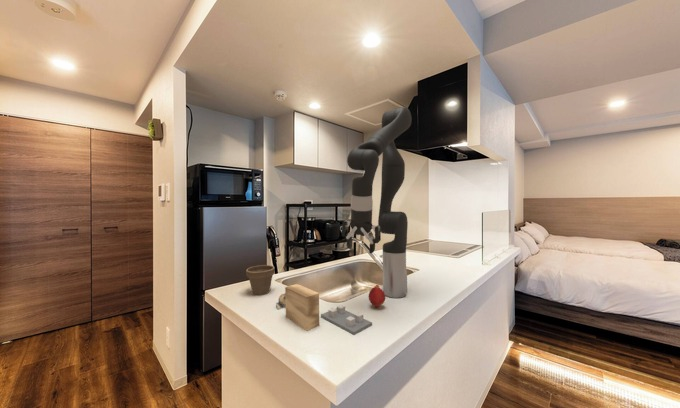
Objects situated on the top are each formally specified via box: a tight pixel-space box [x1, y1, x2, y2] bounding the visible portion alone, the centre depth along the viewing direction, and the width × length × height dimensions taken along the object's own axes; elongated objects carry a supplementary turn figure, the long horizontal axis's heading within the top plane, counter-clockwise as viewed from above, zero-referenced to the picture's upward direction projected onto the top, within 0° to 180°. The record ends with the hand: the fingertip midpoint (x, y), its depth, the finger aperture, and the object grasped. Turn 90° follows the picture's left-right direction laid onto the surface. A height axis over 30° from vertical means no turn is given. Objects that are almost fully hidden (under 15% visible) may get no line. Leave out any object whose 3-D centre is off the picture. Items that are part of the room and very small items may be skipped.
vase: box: [275, 293, 286, 310], centre depth 90 cm, size 5×5×6 cm
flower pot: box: [245, 264, 276, 296], centre depth 104 cm, size 12×11×10 cm
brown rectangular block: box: [284, 283, 320, 332], centre depth 79 cm, size 4×12×10 cm, turn 43°
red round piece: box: [367, 284, 386, 308], centre depth 89 cm, size 6×6×8 cm
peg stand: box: [320, 304, 373, 335], centre depth 79 cm, size 8×15×3 cm, turn 43°
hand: (360, 250), depth 92 cm, fingers open, 8 cm apart
